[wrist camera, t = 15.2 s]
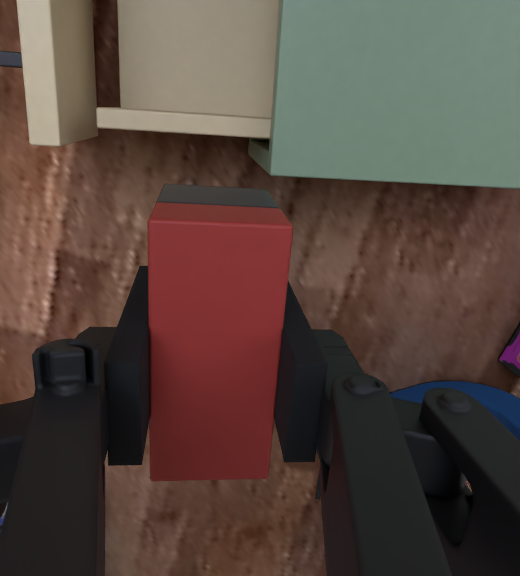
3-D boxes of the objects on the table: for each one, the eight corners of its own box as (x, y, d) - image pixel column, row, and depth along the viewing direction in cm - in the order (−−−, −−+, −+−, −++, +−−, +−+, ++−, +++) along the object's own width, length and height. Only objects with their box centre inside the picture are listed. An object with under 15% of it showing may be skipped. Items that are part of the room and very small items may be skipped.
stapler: (251, 394, 19) (267, 490, 14) (162, 394, 18) (149, 493, 14) (267, 188, 16) (294, 225, 11) (163, 183, 16) (147, 218, 11)
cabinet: (248, 154, 29) (269, 176, 20) (265, -153, 24) (304, -311, 15) (492, 168, 31) (612, 194, 22) (554, -112, 26) (744, -229, 17)
